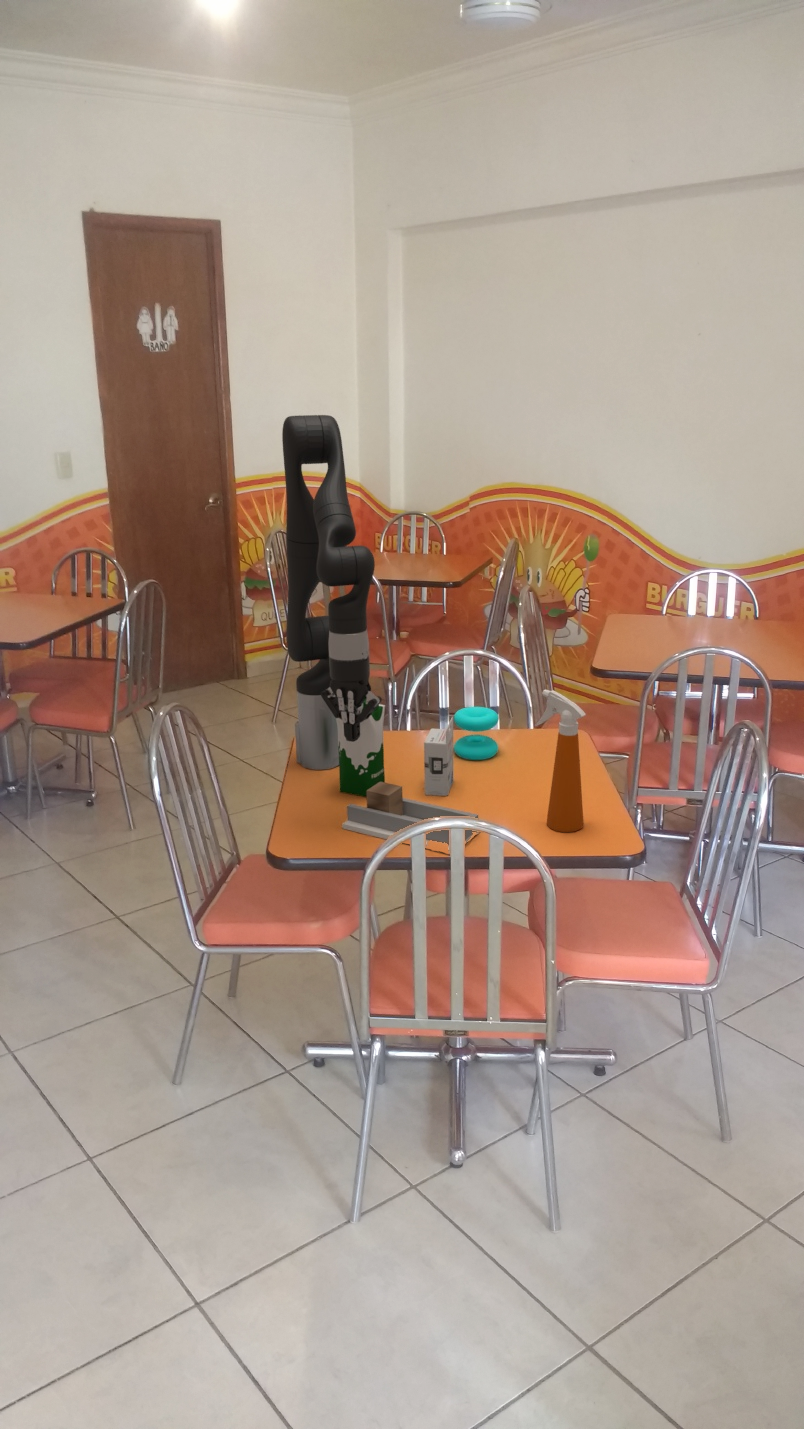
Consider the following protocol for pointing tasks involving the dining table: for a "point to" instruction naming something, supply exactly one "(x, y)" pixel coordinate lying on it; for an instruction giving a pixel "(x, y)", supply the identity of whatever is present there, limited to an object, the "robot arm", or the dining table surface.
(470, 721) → the donuts
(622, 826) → the dining table surface
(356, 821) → the chute
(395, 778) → the dining table surface
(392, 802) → the block
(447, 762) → the ink box
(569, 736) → the spray bottle
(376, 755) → the milk carton
